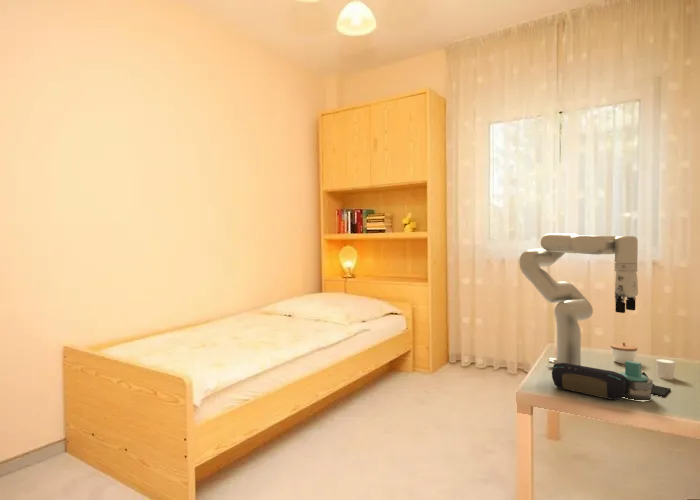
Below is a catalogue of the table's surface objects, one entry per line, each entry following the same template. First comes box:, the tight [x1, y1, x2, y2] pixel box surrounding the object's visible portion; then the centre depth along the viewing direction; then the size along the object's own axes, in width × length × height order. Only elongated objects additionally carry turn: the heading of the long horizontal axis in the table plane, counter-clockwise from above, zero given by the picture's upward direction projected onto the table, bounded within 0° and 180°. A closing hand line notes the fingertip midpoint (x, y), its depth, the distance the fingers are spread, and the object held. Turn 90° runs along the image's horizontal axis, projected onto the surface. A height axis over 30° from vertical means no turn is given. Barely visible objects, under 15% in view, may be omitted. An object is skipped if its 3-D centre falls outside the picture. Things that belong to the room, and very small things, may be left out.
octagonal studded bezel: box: [622, 377, 654, 400], centre depth 160 cm, size 10×10×7 cm
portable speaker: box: [551, 363, 627, 400], centre depth 164 cm, size 25×10×10 cm, turn 48°
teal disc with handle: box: [618, 361, 649, 382], centre depth 160 cm, size 9×9×8 cm
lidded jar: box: [610, 342, 638, 365], centre depth 205 cm, size 11×11×9 cm
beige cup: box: [655, 358, 676, 380], centre depth 183 cm, size 7×7×7 cm
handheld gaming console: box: [641, 371, 671, 398], centre depth 166 cm, size 12×7×10 cm
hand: (625, 311), depth 169 cm, fingers open, 9 cm apart
